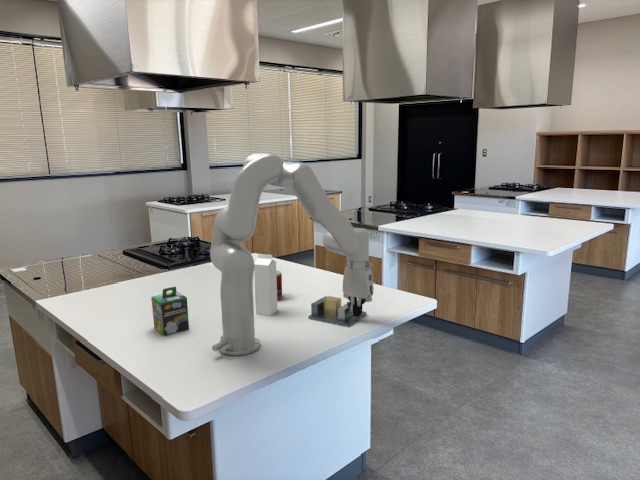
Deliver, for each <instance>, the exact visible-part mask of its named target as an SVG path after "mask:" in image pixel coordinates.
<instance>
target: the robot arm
mask: <svg viewBox="0 0 640 480" xmlns="http://www.w3.org/2000/svg"><path fill="white" fill-rule="evenodd" d="M268 185H269V186H274V187H279V188H284V189H290V190H291V191H292V192H293V194H294V196H295V197H296V198H297V200H298V202H299V203H300V205H301V207H302V208H303V210H304V211H305V214H306V215H307V216H308V217H310V219H311V220H313V221H315V222H316V223H318V224H319V225H321V226H322V227H323V228H324V229H326V232H325V233H324V234H323V237H322V245H323V246H324V248H326V250H327V251H330V252H333V253H336V254H339V255H341V256H344V257H345V256H346V266H345V268H344V270H343V271H344V272H343V277H342V293H343V295H342V297H343V298H345V299H346V300H348V302H351V305H353V316H354V317H355V316H356V317H359V316H360V315H361V314H362V311H363V305H364V304H365V303H370V302H372V301H373V297H372V296H373V295H374V291H375V290H374V289H375V288H374V278H373V272H372V267H373V263H372V262H370V260H369V259H370V258H369V257H370V255H369V254H370V253H369V252H370V246H369V245H370V233H369V231H368V230H367V229H366V228H362V227H361V228H360V227H359V228H357V227H356V228H354V227H353V225H352V223H351V222H350V221H349V220H348V218H347V216H345V214H343V212H342V211H340V209H339V208H338V207H337V206H336V205H335V204H334V203H333V202H332V201H331V200H330V198H329V196H328V195H327V193H326V192H325V190H324V188H323V187H322V185H321V183H320V181H319V179H318V178H317V176H316V174H315V172H314V171H313V169H312V168H311V166H309V165H308V164H307V163H305V162H297V161H294V162H293V161H287V160H283V159H282V158H281V157H280V156H279V155H277V154H275V153H271V152H261V153H256V152H255V153H252V154H250V155H248V156H247V157H246V158H245V159H244V161H243V164H242V169H241V170H240V171H239V172H238V174H237V175H236V177H235V179H234V181H233V184H232V186H231V191H230V196H229V202H228V206H225V207H223V208H221V209H220V210H219V211H218V213H217V215H216V217H215V219H214V222H213V230H212V236H211V243H210V251H209V257H210V261H211V264H212V265H213V266H214V267H215V268H216V269H217V270H219V272H221V281H220V287H219V288H220V290H219V291H220V306H221V325H222V336H220V340H219V342H216V343H215V344H213V345H212V346H211V349H212V351H213V352H218V351H219V352H220V353H221V354H224V355H227V356H244V355H248V354H252V353H254V352H256V351H257V350H259V348H260V347H261V340H260V339H259V338H257V337H256V334H255V333H256V332H255V330H256V329H255V309H254V308H255V305H254V287H253V286H254V263H255V259H254V256H253V255H252V253H251V251H250V250H249V249H247V248H246V247H244V246H242V242H246V241H248V240H250V239H251V238H252V237H253V235H254V233H255V232H256V227H257V219H258V212H259V205H260V202H261V201H260V200H261V197H262V196H261V195H262V193H263V192H264V190H265V188H266V187H267V186H268Z"/></svg>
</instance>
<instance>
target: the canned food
mask: <svg viewBox="0 0 640 480" xmlns="http://www.w3.org/2000/svg"><path fill="white" fill-rule="evenodd" d="M276 277H277V302H279V301H281V300H282V298H283V275H282V271H280V270H277V269H276Z"/></svg>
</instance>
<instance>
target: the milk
mask: <svg viewBox="0 0 640 480" xmlns="http://www.w3.org/2000/svg"><path fill="white" fill-rule="evenodd" d="M276 270H277V261H276V260H274V259H273V254H264V253H258V254H257V258H256V260H255V261H254V275H253V277H254V297H255V298H254V300H255V314H256V315H260V316H268V317H269V316H270V317H272V315H274V314H276V313H277V312H278V301H277V277H276Z"/></svg>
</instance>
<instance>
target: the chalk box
mask: <svg viewBox="0 0 640 480" xmlns="http://www.w3.org/2000/svg"><path fill="white" fill-rule="evenodd" d="M169 291H170V292H169ZM150 297H151V298H150V299H151V308H152V317H153V325H154V326H153V329H155V330H156V332H158V333H160V334H161V335H162V336H164V337H165V336H168V335H172V334H176V333H179V332H183V331H188V330H190V324H189V323H190V322H189V309H188V307H189V306H188V297H187V296H185V295H184V294H182V293H180V292H178V291H177V286H171V287H166V288H162V294H159V295H158V294H157V295H154V296H153V295H152V296H150Z"/></svg>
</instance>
